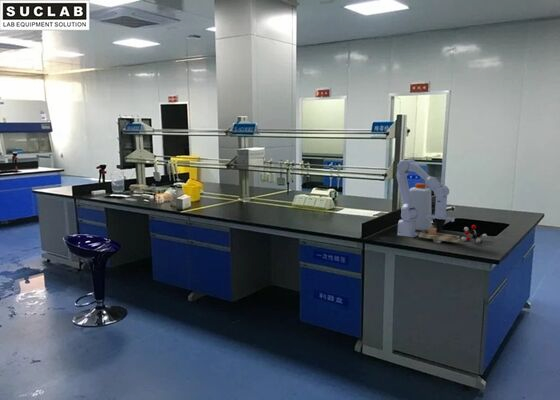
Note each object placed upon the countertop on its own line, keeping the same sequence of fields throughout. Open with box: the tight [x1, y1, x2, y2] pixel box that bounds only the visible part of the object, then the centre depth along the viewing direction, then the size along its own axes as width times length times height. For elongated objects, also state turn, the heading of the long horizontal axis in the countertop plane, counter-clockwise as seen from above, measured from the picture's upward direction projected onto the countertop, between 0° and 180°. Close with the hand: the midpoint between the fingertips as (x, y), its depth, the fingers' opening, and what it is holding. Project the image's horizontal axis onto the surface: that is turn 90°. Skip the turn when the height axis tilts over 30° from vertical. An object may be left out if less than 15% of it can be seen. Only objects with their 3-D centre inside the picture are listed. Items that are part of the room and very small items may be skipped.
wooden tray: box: [418, 230, 460, 244], centre depth 235 cm, size 20×7×5 cm, turn 53°
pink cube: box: [428, 227, 438, 235], centre depth 237 cm, size 4×4×4 cm
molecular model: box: [461, 224, 488, 243], centre depth 235 cm, size 16×8×10 cm, turn 119°
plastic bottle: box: [409, 182, 433, 232], centre depth 265 cm, size 15×15×28 cm
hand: (439, 232), depth 235 cm, fingers closed
